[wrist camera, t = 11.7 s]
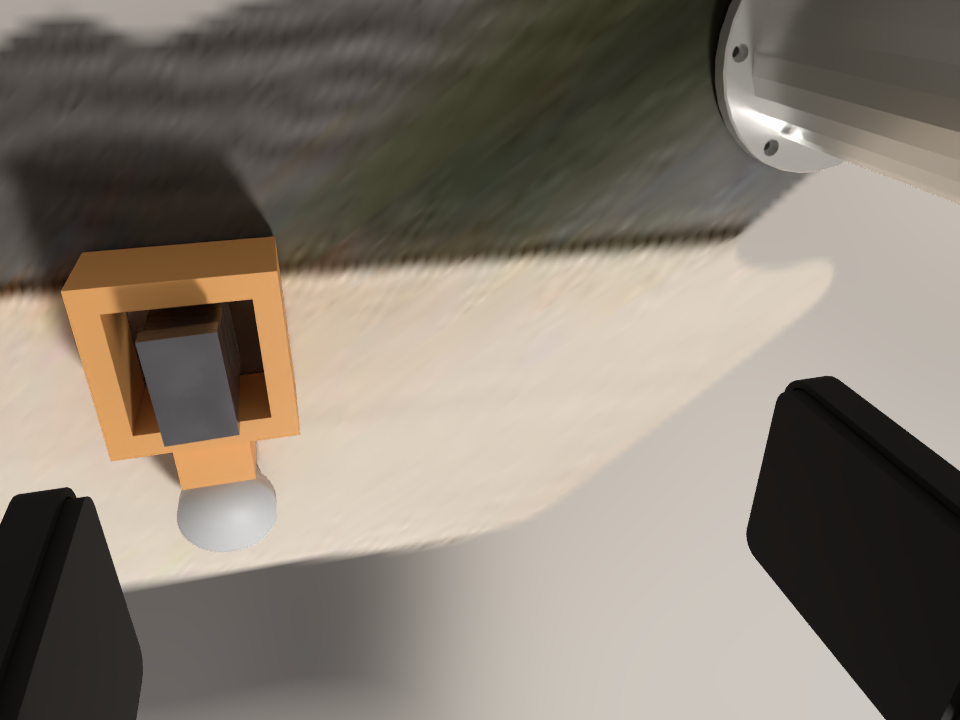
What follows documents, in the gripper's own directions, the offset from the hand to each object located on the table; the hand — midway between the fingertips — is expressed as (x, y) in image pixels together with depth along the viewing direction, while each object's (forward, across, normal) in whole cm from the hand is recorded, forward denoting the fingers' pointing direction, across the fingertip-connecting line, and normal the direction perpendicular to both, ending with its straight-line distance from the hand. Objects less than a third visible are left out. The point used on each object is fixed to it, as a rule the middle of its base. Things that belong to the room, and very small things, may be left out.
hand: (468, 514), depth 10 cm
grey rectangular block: (+28, +7, +10) cm, 31 cm away
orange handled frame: (+28, +7, +14) cm, 32 cm away
